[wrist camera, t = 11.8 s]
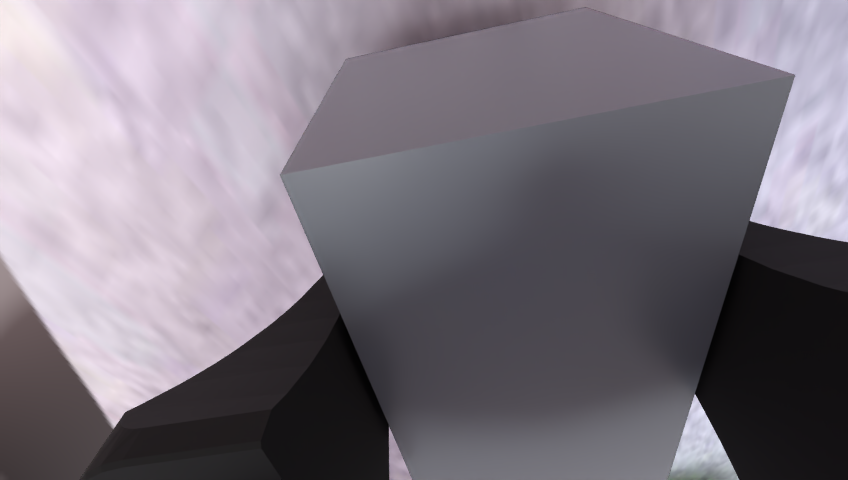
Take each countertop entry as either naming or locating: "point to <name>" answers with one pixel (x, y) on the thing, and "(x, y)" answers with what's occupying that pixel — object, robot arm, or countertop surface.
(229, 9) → the countertop surface
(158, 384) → the countertop surface
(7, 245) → the countertop surface
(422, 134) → the grey rectangular block
